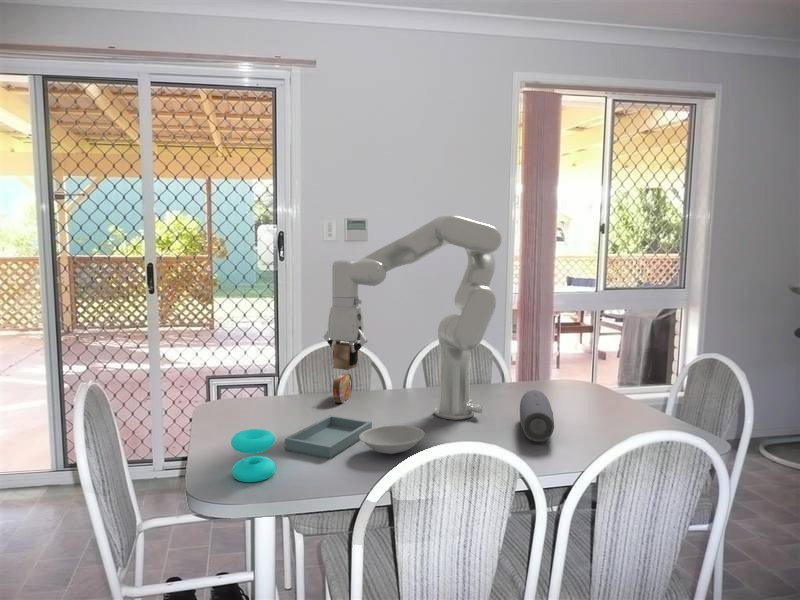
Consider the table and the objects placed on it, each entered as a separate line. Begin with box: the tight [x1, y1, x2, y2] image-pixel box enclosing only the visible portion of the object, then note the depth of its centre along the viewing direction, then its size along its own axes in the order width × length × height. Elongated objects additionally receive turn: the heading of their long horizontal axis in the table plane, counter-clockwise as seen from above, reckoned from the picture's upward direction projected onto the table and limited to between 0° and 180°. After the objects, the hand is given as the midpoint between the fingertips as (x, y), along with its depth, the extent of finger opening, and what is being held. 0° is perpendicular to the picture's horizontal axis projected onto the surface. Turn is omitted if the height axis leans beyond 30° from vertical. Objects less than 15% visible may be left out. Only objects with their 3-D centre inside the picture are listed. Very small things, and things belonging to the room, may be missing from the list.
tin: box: [332, 372, 353, 404], centre depth 199 cm, size 15×3×8 cm, turn 168°
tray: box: [284, 414, 373, 460], centre depth 160 cm, size 14×22×3 cm, turn 154°
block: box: [332, 341, 358, 371], centre depth 172 cm, size 5×5×7 cm
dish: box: [359, 424, 426, 455], centre depth 151 cm, size 18×14×5 cm
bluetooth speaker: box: [519, 389, 555, 442], centre depth 168 cm, size 23×9×10 cm, turn 170°
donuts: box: [230, 428, 276, 483], centre depth 137 cm, size 10×10×10 cm
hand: (345, 363), depth 172 cm, fingers closed on block, 4 cm apart
